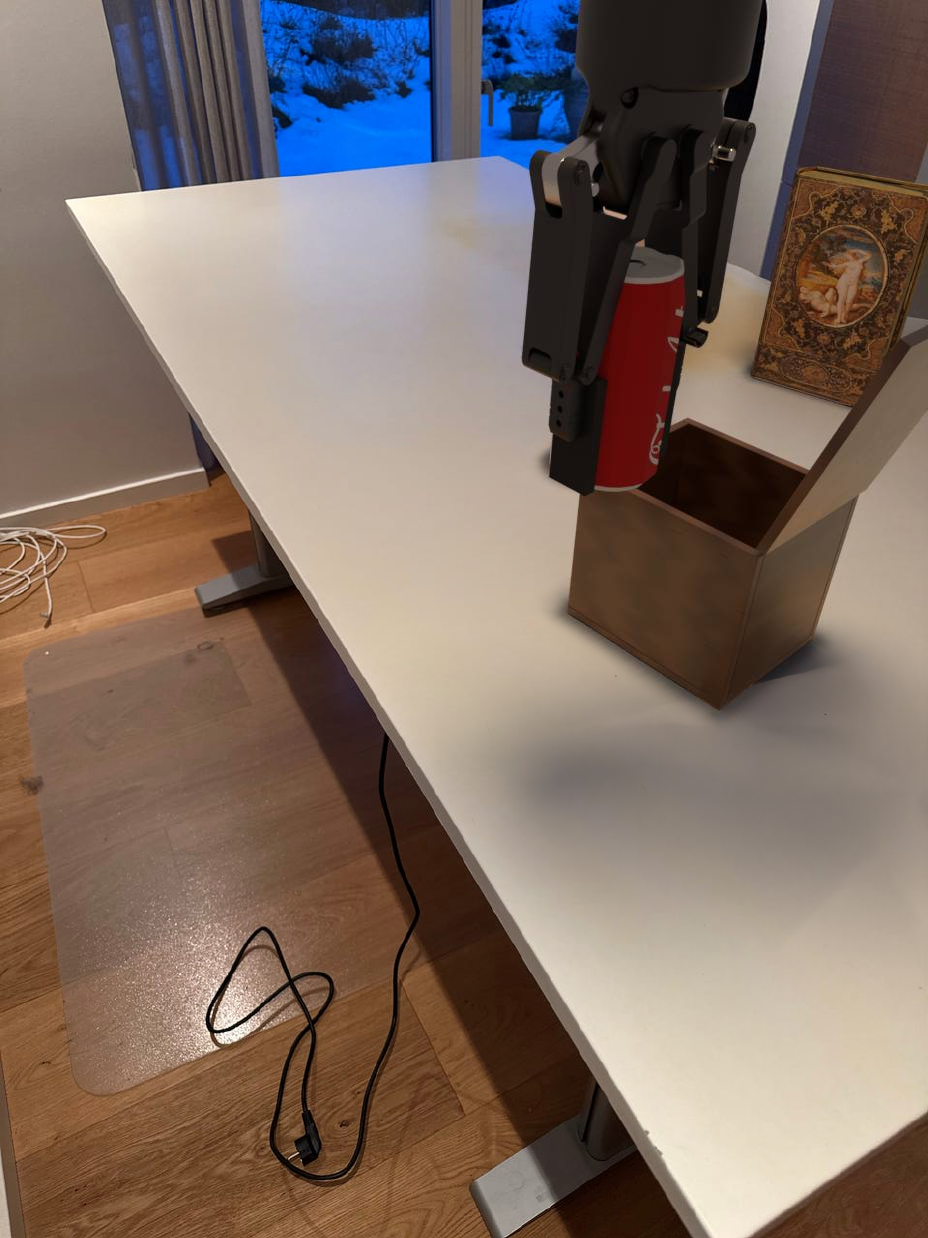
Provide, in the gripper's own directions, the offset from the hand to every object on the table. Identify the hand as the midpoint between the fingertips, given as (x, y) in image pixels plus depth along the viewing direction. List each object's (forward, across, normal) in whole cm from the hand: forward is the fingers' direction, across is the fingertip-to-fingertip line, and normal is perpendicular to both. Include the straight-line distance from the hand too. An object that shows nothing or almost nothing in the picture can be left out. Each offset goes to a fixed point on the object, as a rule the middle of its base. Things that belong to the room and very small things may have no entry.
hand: (608, 465), depth 53 cm
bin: (+25, -20, -4) cm, 33 cm away
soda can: (+1, 0, 0) cm, 1 cm away
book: (+26, -73, -24) cm, 81 cm away
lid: (+2, -20, +6) cm, 21 cm away
